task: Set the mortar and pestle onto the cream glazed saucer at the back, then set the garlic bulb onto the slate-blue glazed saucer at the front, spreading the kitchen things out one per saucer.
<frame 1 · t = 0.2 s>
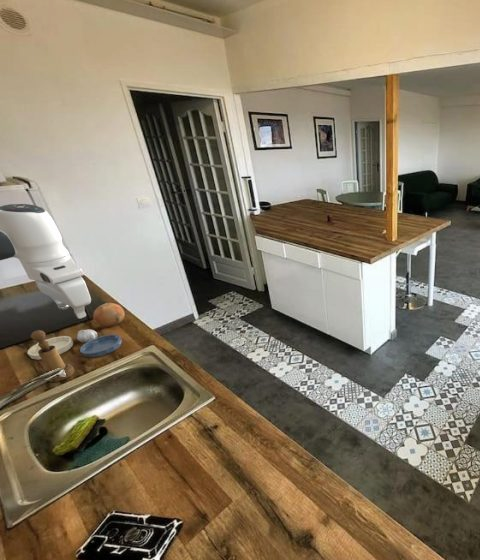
hand: (73, 312, 87), 29 cm above the countertop, tool pointing down, fingers open, 8 cm apart
slate saucer: (103, 348, 117), on the countertop
onion: (113, 324, 132), on the countertop
mortar and pestle: (61, 376, 104), on the countertop
garlic: (89, 341, 121), on the countertop
cream saucer: (52, 350, 116), on the countertop
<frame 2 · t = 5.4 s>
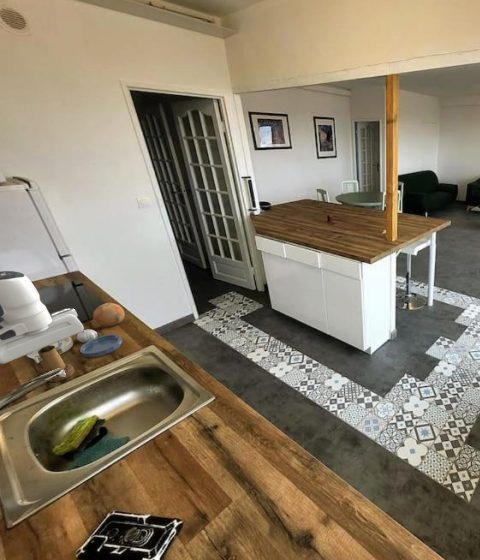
hand: (50, 356, 101), 8 cm above the countertop, tool pointing down, fingers closed on mortar and pestle, 4 cm apart
mortar and pestle: (61, 376, 104), on the countertop, touching gripper
everything else where it was.
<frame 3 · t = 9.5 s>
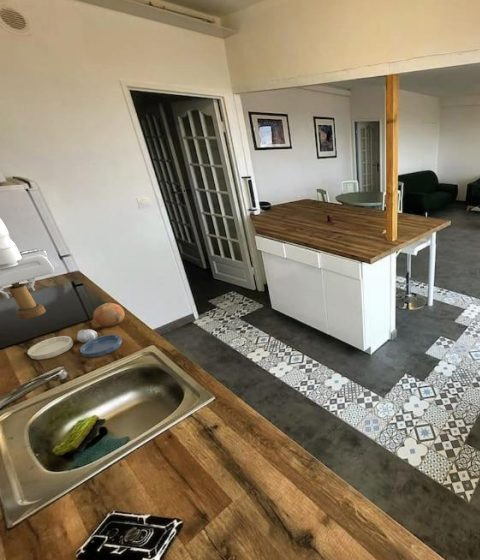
hand: (21, 294, 105), 24 cm above the countertop, tool pointing down, fingers closed on mortar and pestle, 4 cm apart
mortar and pestle: (32, 314, 109), point 16 cm above the countertop, touching gripper
everything else where it was.
when the fingers open (8 cm above the countertop, at t = 14.0 s): mortar and pestle stays where it is, resting on cream saucer.
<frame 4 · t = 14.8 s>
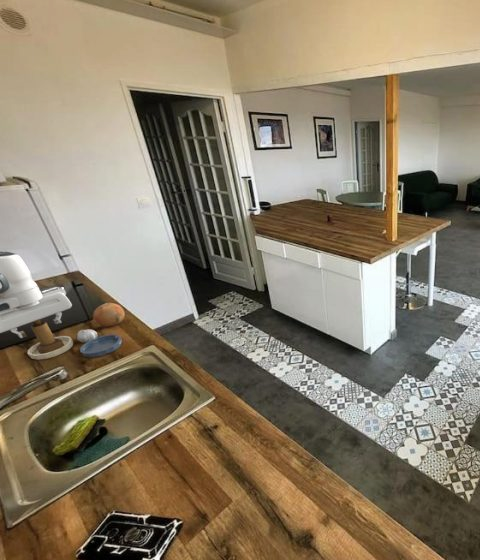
hand: (41, 329, 112), 9 cm above the countertop, tool pointing down, fingers open, 8 cm apart
mortar and pestle: (52, 349, 116), resting on cream saucer
everything else where it was.
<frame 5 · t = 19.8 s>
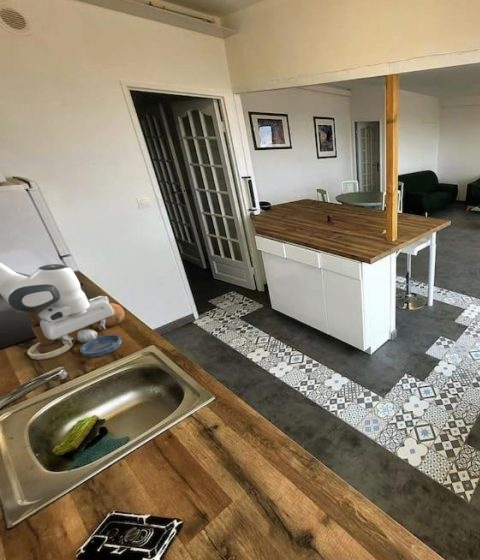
hand: (87, 335, 121), 2 cm above the countertop, tool pointing down, fingers open, 8 cm apart
nothing on the countertop moved.
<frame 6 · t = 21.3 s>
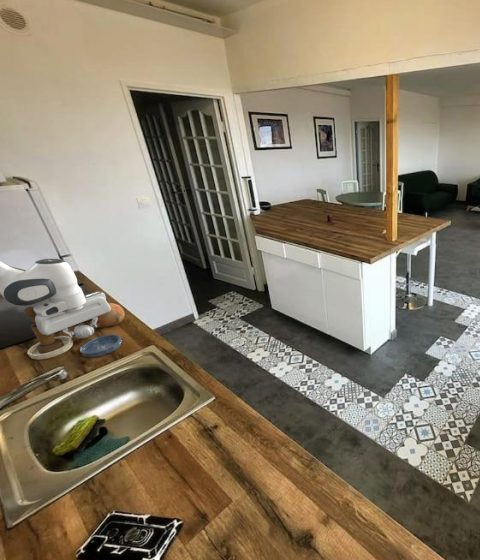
hand: (83, 332, 119), 4 cm above the countertop, tool pointing down, fingers closed on garlic, 5 cm apart
garlic: (86, 337, 120), point 2 cm above the countertop, touching gripper
everything else where it was.
when the fingers open (3 cm above the countertop, at t = 27.7 s): garlic stays where it is, resting on slate saucer.
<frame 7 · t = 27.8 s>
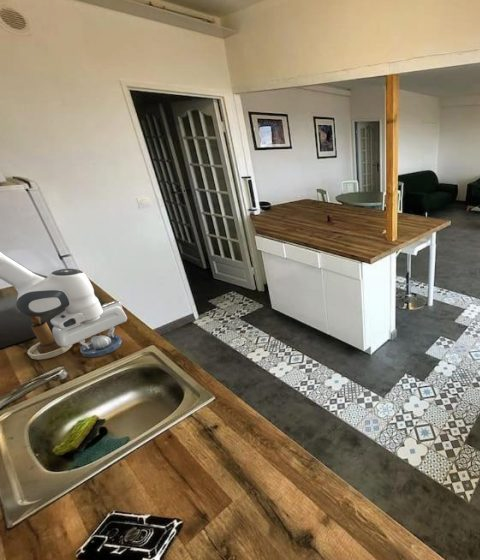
hand: (100, 342, 116), 3 cm above the countertop, tool pointing down, fingers open, 5 cm apart
garlic: (102, 347, 117), resting on slate saucer
everything else where it was.
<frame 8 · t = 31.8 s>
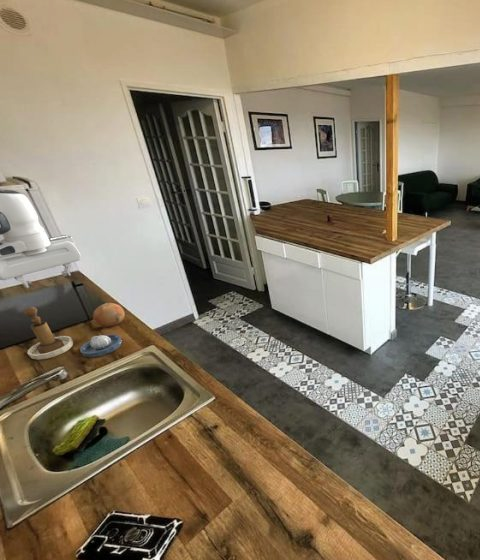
hand: (49, 281, 103), 29 cm above the countertop, tool pointing down, fingers open, 8 cm apart
nothing on the countertop moved.
at the end: mortar and pestle 0.0 cm off-centre in the cream saucer, point 0.3 cm above the cream saucer's base; mortar and pestle tilted 0°; garlic 0.0 cm off-centre in the slate saucer, point 0.3 cm above the slate saucer's base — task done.
